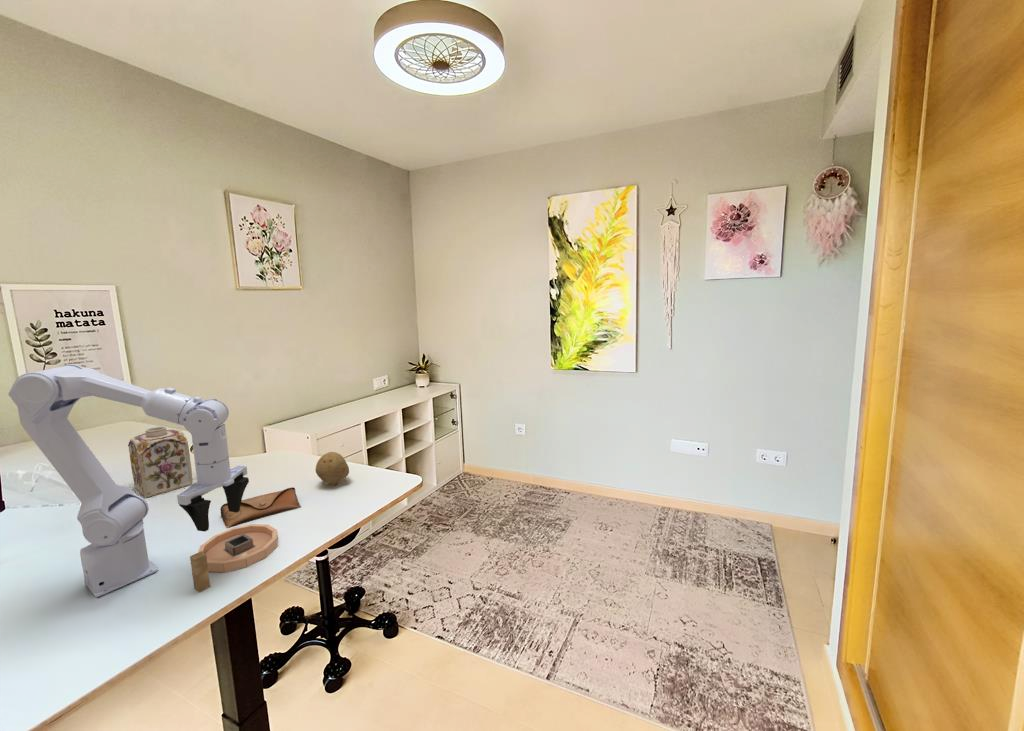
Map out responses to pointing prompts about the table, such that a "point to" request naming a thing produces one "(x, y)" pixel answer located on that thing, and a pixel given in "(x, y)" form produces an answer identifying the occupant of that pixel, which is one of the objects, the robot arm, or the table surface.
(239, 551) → the hollow square box
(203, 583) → the brown long rectangular block
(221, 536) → the jar dish
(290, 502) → the sunglasses case
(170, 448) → the decorative jar
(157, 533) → the table surface
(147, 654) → the table surface
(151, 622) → the table surface
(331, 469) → the coconut
